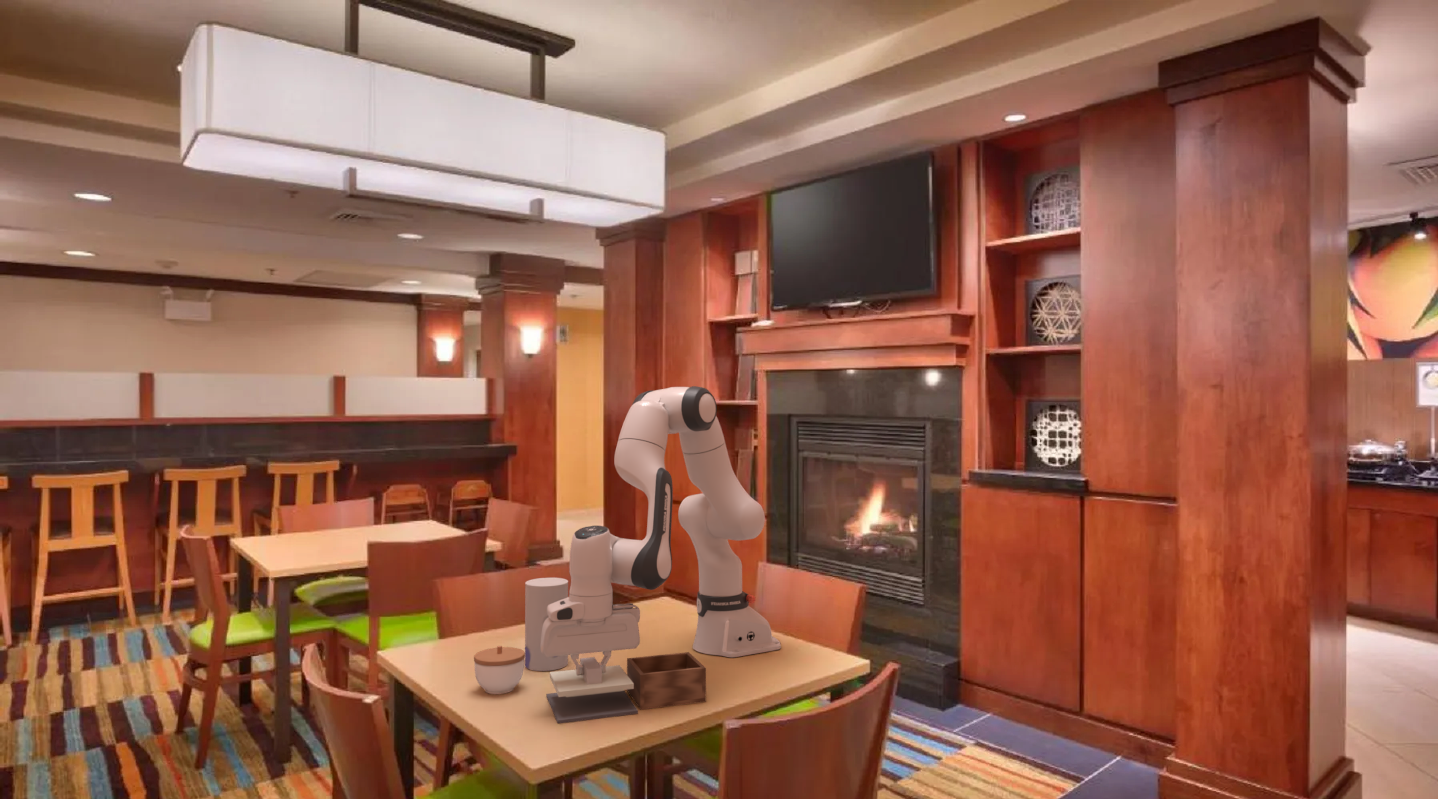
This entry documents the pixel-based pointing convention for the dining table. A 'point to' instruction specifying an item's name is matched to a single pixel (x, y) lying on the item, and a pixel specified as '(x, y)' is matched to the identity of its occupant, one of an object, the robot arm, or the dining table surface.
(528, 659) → the container
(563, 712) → the mat
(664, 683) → the box
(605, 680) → the lid
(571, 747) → the dining table surface
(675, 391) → the robot arm
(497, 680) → the lidded jar
